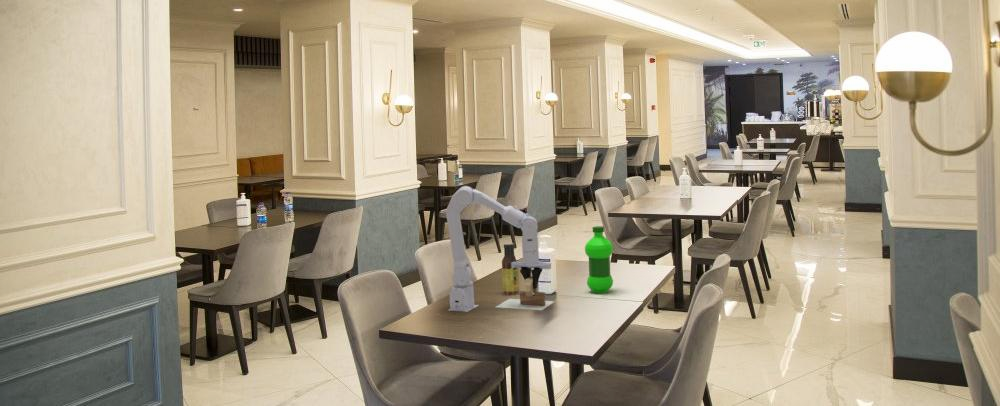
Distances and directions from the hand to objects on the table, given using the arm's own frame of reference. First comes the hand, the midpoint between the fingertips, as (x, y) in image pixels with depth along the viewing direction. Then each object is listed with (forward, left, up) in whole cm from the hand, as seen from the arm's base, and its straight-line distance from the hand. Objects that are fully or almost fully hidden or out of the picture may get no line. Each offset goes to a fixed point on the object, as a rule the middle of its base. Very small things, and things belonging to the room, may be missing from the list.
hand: (532, 288), depth 270 cm
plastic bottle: (+27, -17, -7) cm, 33 cm away
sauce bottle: (+15, +15, -7) cm, 22 cm away
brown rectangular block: (0, 0, -6) cm, 6 cm away
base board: (0, +3, -7) cm, 7 cm away
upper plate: (0, 0, -2) cm, 2 cm away
